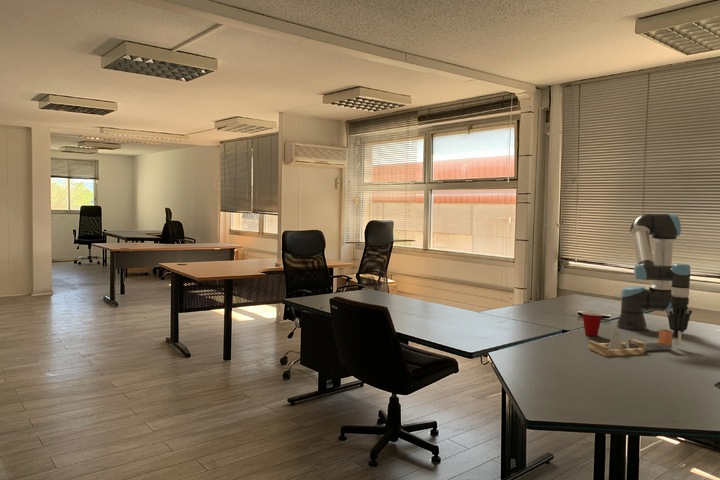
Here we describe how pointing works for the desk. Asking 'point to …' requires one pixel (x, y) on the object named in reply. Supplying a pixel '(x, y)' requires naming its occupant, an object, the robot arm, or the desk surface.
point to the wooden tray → (604, 349)
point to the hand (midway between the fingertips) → (677, 344)
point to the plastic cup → (591, 323)
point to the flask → (615, 341)
